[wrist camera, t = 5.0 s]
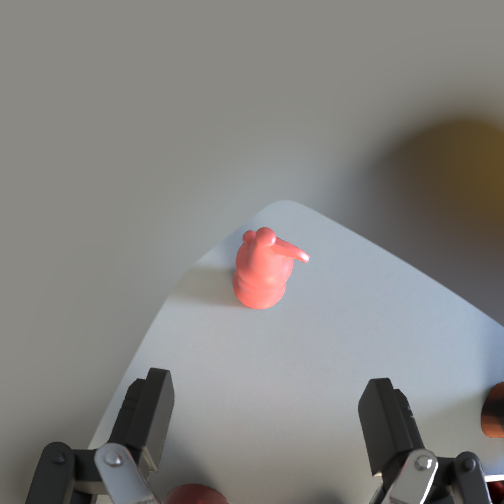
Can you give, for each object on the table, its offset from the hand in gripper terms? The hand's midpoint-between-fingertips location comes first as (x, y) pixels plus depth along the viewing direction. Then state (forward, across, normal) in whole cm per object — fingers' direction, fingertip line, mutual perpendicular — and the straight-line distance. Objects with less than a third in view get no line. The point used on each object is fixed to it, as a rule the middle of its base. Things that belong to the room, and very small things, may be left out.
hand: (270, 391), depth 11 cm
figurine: (+19, 0, +8) cm, 21 cm away
